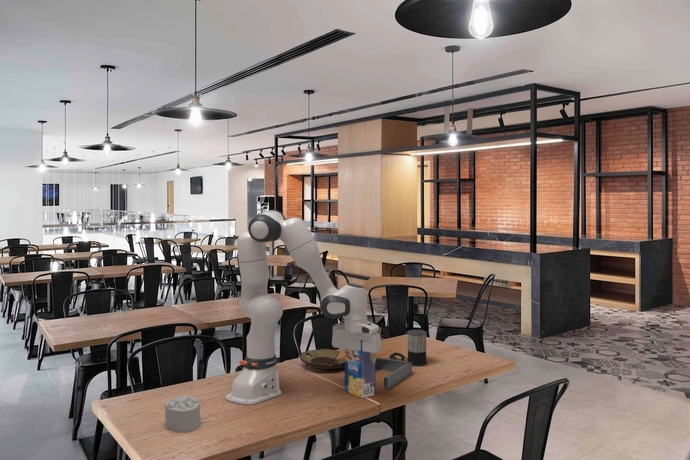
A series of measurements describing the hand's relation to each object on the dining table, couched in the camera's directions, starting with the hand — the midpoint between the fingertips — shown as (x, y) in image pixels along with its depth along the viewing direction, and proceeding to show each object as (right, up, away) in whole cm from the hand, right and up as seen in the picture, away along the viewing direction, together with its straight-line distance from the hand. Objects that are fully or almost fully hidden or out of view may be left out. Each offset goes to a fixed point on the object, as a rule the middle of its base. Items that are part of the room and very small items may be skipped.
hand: (356, 361), depth 210 cm
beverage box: (+1, -13, +3) cm, 14 cm away
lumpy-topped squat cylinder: (-59, -15, -27) cm, 66 cm away
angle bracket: (+11, -12, +20) cm, 26 cm away
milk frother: (+25, -11, +43) cm, 51 cm away
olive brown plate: (-12, -12, +36) cm, 40 cm away
